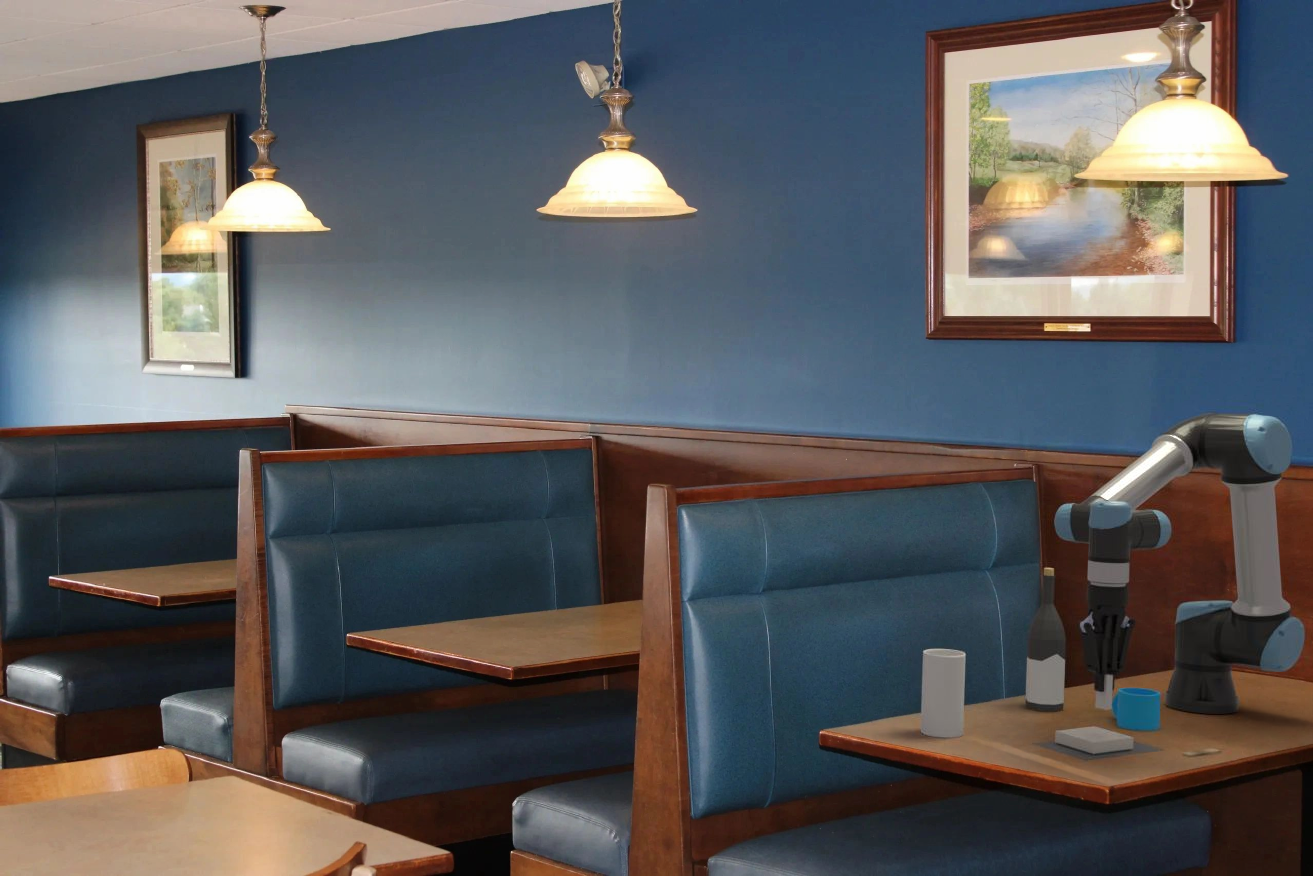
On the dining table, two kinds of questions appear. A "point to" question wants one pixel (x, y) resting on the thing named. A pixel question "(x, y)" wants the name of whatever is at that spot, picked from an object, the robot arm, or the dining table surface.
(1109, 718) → the dining table surface
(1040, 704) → the wine bottle
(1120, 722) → the mug
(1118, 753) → the mat
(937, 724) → the cup
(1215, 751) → the turner
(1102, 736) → the tile
